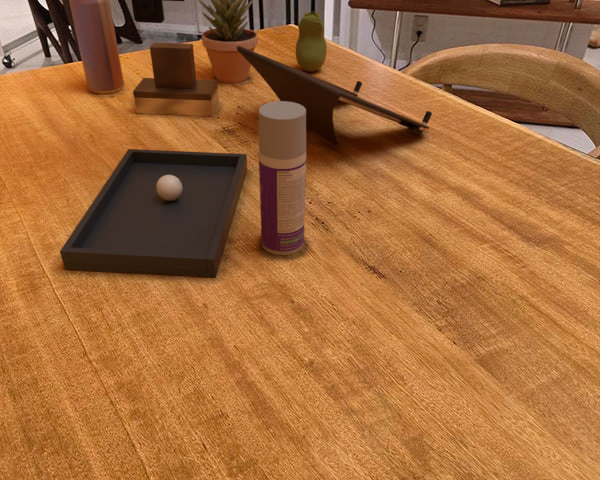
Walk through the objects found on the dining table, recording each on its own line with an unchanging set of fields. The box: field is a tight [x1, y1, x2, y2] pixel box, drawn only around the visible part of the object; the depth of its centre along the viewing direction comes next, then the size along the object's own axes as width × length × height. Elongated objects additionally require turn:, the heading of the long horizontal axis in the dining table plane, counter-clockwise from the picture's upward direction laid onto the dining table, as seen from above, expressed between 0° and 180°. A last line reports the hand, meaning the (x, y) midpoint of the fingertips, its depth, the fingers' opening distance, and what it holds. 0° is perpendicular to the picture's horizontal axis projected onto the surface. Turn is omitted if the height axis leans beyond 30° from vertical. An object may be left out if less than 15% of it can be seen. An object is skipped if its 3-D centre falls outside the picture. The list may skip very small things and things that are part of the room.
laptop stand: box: [237, 46, 433, 147], centre depth 86 cm, size 23×23×9 cm
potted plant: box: [197, 0, 259, 84], centre depth 98 cm, size 10×10×25 cm
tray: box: [59, 148, 248, 278], centre depth 68 cm, size 16×24×2 cm, turn 176°
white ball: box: [156, 175, 182, 201], centre depth 69 cm, size 3×3×3 cm
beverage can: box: [68, 0, 125, 95], centre depth 95 cm, size 6×6×15 cm
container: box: [258, 100, 307, 256], centre depth 60 cm, size 5×5×15 cm
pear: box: [295, 10, 328, 73], centre depth 105 cm, size 6×5×10 cm
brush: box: [132, 42, 220, 117], centre depth 91 cm, size 12×6×10 cm, turn 86°
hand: (162, 10), depth 68 cm, fingers open, 9 cm apart
